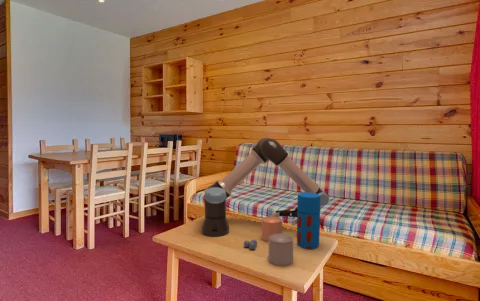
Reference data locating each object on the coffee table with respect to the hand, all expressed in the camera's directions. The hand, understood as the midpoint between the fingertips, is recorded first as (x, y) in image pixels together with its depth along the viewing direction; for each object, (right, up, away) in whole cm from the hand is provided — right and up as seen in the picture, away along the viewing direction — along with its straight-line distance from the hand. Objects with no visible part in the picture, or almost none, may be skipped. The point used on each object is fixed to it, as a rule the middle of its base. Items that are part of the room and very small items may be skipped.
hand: (281, 220), depth 158 cm
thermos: (+11, -9, -14) cm, 20 cm away
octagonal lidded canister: (-6, -8, -6) cm, 12 cm away
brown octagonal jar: (-5, -10, -30) cm, 32 cm away
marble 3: (-17, -9, -19) cm, 27 cm away
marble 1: (-19, -9, -17) cm, 27 cm away
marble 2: (-16, -9, -16) cm, 24 cm away
